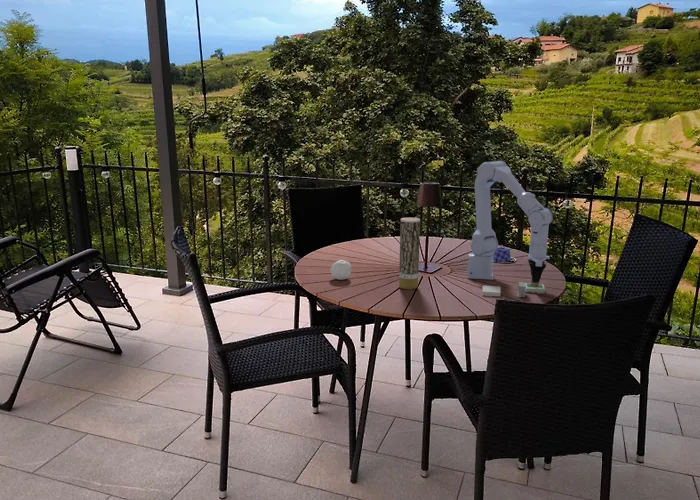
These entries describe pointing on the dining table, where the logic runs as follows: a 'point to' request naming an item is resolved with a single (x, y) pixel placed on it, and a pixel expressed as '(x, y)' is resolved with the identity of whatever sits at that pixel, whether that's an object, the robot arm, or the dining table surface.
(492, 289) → the tile
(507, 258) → the multicoloured piece
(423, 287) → the dining table surface
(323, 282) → the dining table surface
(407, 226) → the paper tube
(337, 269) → the white lumpy ball
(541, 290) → the tray
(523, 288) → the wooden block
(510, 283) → the dining table surface
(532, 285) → the dowel
